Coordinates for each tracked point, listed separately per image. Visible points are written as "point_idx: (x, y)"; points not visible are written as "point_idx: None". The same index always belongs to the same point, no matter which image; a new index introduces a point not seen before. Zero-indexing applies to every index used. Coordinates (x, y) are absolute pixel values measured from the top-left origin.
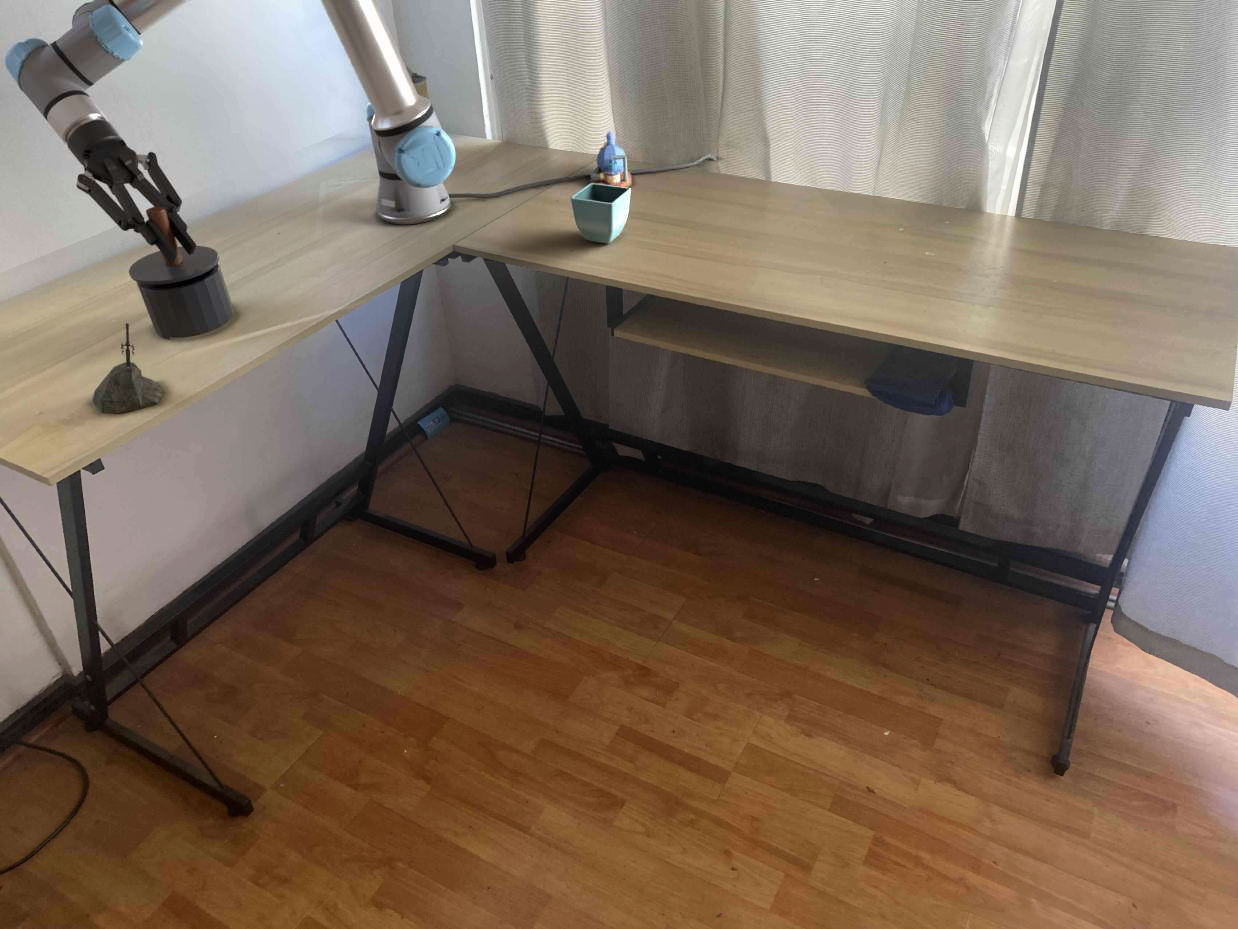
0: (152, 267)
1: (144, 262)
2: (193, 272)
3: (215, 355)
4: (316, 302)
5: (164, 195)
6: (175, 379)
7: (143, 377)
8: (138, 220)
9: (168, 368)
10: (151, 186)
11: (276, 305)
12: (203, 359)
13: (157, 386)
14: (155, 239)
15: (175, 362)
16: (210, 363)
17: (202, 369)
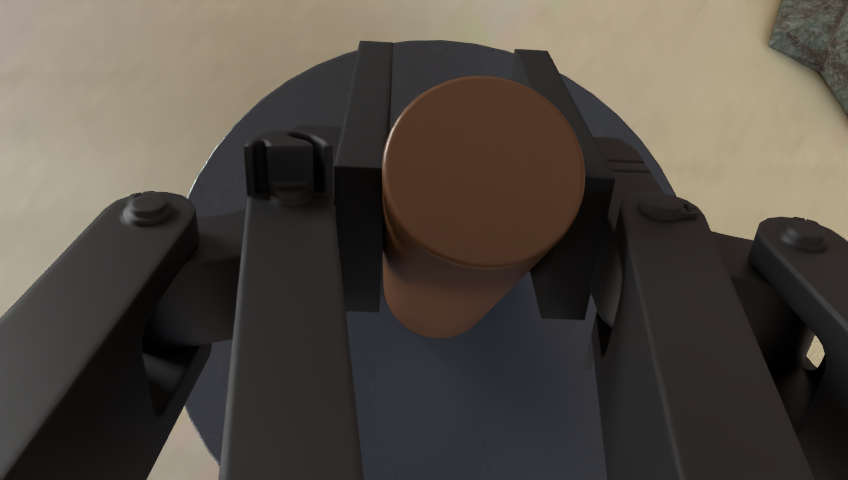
0: (555, 343)
1: (537, 470)
2: (467, 57)
3: (543, 40)
4: (60, 29)
5: (137, 447)
6: (715, 27)
7: (831, 26)
8: (687, 202)
9: (690, 108)
10: (262, 417)
11: (150, 150)
12: (584, 53)
13: (792, 10)
14: (595, 137)
15: (653, 122)
16: (587, 11)
17: (626, 3)
